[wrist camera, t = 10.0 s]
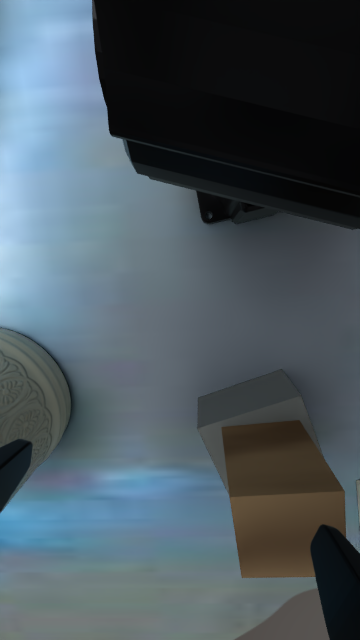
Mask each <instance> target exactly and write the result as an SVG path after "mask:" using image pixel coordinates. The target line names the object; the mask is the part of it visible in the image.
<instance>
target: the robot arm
mask: <svg viewBox="0 0 360 640" xmlns="http://www.w3.org/2000/svg"><path fill="white" fill-rule="evenodd" d="M92 16H93V31H94V44H95V54H96V60H97V67H98V74H99V79H100V84H101V88H102V92H103V96H104V100H105V103H106V105H107V110H108V124H109V131H110V134H111V136H113V137H117V138H121V139H123V143H124V147H125V151H126V153H127V155H128V157H129V159H130V161H131V163H132V165H133V167H134V169H135V170H136V172H137V173H138V174H141V175H145V176H148V177H149V178H150V179H152V180H156V181H160V182H164V183H168V184H172V185H176V186H180V187H184V188H188V189H192V190H196V192H197V198H198V203H199V208H200V213H201V218H202V221H203V222H204V223H206V224H212V223H216V222H220V221H224V220H228V219H231V220H232V222H233V223H235V224H238V223H243V222H247V221H251V220H255V219H259V218H263V217H267V216H271V215H274V214H275V213H277V212H278V211H280V212H284V213H288V214H292V215H296V216H300V217H304V218H308V219H312V220H316V221H320V222H324V223H328V224H332V225H336V226H340V227H344V228H348V229H352V230H353V229H360V0H92ZM208 212H210V213H212V218H211V219H206V217H205V214H206V213H208ZM32 448H33V444H32V442H31V441H28V440H24V439H16V440H14V441H12V442H10V443H8V444H6V445H4V446H2V447H0V512H1V511H2V509H3V508H4V506H5V505H6V503H7V502H8V500H9V499H10V497H11V495H12V494H13V492H14V491H15V489H16V488H17V486H18V485H19V483H20V482H21V480H22V479H23V477H24V476H25V474H26V472H27V471H28V469H29V467H30V464H31V457H32ZM310 552H311V558H312V562H313V567H314V572H315V577H316V581H317V586H318V590H319V595H320V600H321V605H322V610H323V614H324V618H325V623H326V627H327V631H328V635H329V638H330V640H360V553H359V552H358V551H357V550H356V549H355V548H354V547H353V545H352V544H351V543H350V542H349V541H348V540H347V539H346V538H345V537H344V535H343V534H342V533H341V532H340V531H339V530H338V529H337V528H335V527H332V526H328V525H325V524H322V525H320V526H319V528H318V530H317V532H316V534H315V535H314V537H313V539H312V541H311V544H310Z"/></svg>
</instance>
